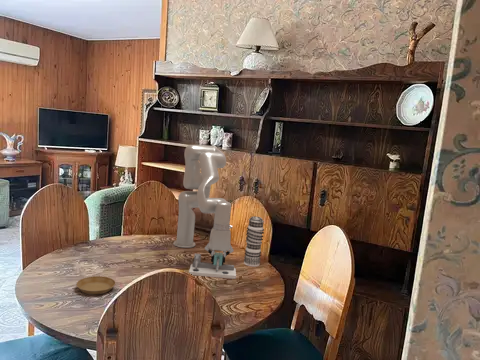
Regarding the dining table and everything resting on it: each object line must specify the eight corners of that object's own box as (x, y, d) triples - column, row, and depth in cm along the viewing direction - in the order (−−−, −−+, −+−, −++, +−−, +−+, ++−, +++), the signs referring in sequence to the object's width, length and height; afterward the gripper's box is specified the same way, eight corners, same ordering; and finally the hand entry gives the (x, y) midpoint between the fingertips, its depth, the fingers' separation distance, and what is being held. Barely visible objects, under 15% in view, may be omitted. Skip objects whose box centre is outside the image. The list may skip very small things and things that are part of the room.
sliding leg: (213, 265, 189) (214, 252, 188) (221, 266, 189) (222, 253, 189) (212, 271, 182) (214, 257, 181) (221, 271, 182) (222, 258, 181)
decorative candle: (259, 267, 198) (264, 220, 195) (241, 264, 200) (246, 218, 197) (261, 262, 207) (266, 217, 204) (244, 259, 209) (249, 214, 206)
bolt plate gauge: (190, 267, 189) (192, 252, 189) (235, 271, 190) (236, 256, 189) (188, 274, 180) (190, 259, 179) (235, 278, 181) (237, 263, 180)
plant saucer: (102, 279, 166) (102, 273, 165) (122, 290, 156) (122, 284, 156) (69, 287, 154) (69, 281, 154) (88, 300, 145) (88, 294, 145)
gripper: (238, 226, 189) (234, 262, 191) (204, 223, 188) (201, 259, 190) (238, 230, 181) (235, 267, 184) (203, 227, 181) (199, 264, 183)
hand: (217, 263), depth 187 cm, fingers closed on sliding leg, 4 cm apart
